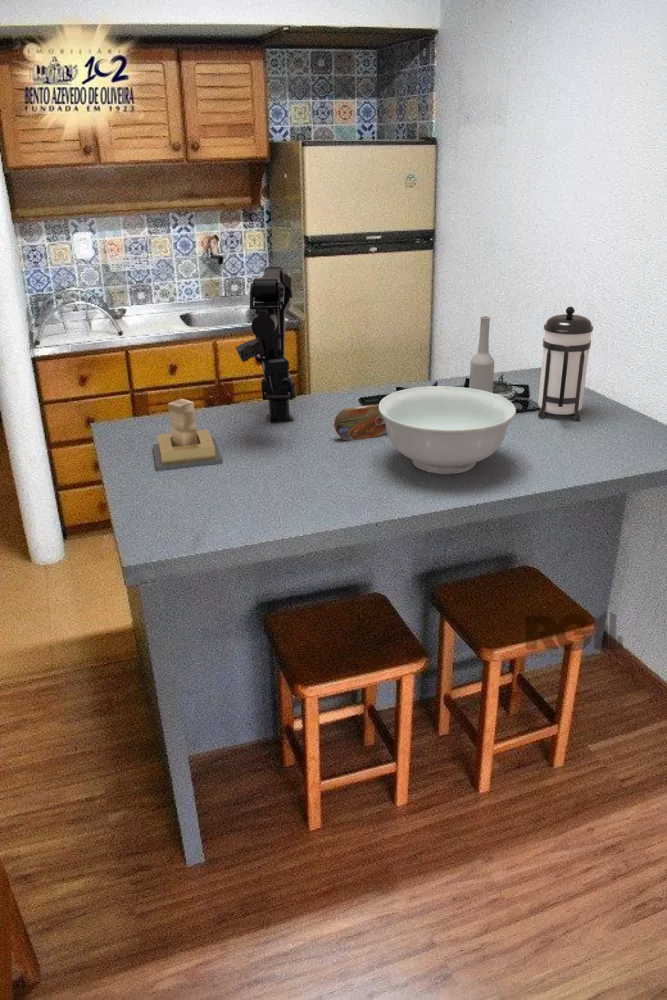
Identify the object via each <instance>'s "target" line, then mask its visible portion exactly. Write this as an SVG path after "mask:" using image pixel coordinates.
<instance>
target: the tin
mask: <svg viewBox="0 0 667 1000" xmlns="http://www.w3.org/2000/svg"><path fill="white" fill-rule="evenodd" d="M333 426H334V430H335V432H336V434H338V436H339V437H340V438H341V439H343V440H344V441H348V442H349V441H350V442H351V441H357V440H364V439H370V438H371V439H372V438H377V437H380V436H382V435H383V434H384V433H386V432H387V429H386V424H385V419H384V417H383V416H382V415H381V414H380V412H379V404H369V405H363V406H355V407H348V408H344V409H342V410H341V411H339V412H338V414H336V416H335V418H334V425H333Z"/></svg>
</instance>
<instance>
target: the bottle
mask: <svg viewBox="0 0 667 1000" xmlns="http://www.w3.org/2000/svg"><path fill="white" fill-rule="evenodd" d="M479 319H480V323H479V324H480V325H479V338H478V339H479V340H478V347H477V353H476V354H475V355H474V356H473V357H472V358H471V359H470V368H469V369H470V370H469V382H468V383H469V385H468V388H472V389H477V390H482V391H486V392H490V393H493V391H494V377H495V376H494V375H495V360H494V358H493V357H492V355H491V354H490V351H489V350H490V349H489V348H490V347H489V344H490V342H489V339H490V337H489V336H490V323H491V320H490V319H491V316H488V315H481V316H479ZM493 394H494V393H493Z"/></svg>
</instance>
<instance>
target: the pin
mask: <svg viewBox="0 0 667 1000" xmlns="http://www.w3.org/2000/svg"><path fill="white" fill-rule="evenodd" d="M167 403H168V404H167V405H168V414H169V415H168V416H169V422H170V431H171V432H170V433H172V441H173V447H176V446H185V445H194V444H198V440H197V430H198V429H197V423H196V422H197V421H196V412H195V403H194V401H191V400H188V399H184V398H180V399H177V400H173V401H171V402H167Z"/></svg>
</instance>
